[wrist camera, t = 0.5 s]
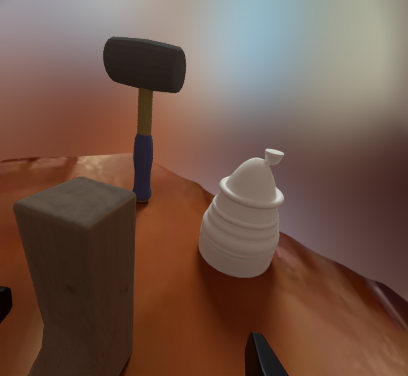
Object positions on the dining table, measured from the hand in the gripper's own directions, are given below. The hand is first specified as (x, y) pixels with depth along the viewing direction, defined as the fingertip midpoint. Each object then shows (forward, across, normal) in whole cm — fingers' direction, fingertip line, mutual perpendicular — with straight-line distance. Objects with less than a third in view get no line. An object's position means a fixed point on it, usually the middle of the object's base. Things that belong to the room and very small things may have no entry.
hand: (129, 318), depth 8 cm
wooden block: (+6, +5, +16) cm, 18 cm away
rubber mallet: (+38, +12, +11) cm, 41 cm away
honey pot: (+27, -9, +13) cm, 31 cm away
